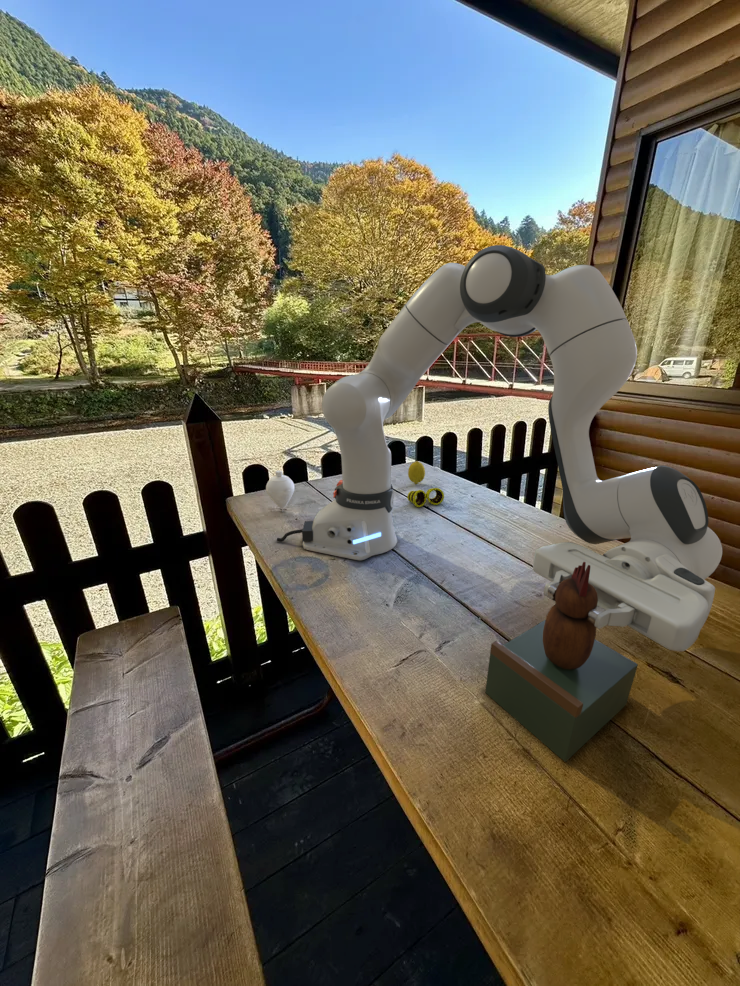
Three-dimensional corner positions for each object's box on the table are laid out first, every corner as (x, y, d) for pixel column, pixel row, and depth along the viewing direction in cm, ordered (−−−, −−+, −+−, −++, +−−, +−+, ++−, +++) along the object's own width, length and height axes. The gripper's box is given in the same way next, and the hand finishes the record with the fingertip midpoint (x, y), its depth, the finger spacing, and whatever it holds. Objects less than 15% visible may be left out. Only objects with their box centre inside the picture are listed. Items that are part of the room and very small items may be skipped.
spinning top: (276, 519, 110) (272, 477, 106) (264, 510, 116) (259, 470, 111) (301, 512, 115) (298, 471, 110) (288, 504, 120) (284, 465, 116)
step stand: (484, 692, 57) (491, 643, 54) (546, 651, 64) (554, 605, 61) (565, 762, 47) (578, 707, 44) (626, 705, 55) (641, 654, 51)
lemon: (423, 487, 132) (424, 464, 129) (406, 486, 133) (407, 463, 130) (425, 481, 137) (426, 459, 134) (408, 481, 138) (409, 458, 135)
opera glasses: (436, 501, 123) (436, 485, 123) (444, 504, 118) (444, 487, 118) (406, 505, 121) (406, 488, 120) (414, 508, 116) (413, 491, 115)
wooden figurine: (585, 685, 49) (610, 578, 44) (534, 666, 52) (552, 563, 46) (591, 650, 54) (614, 551, 49) (545, 634, 57) (562, 539, 52)
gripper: (572, 525, 63) (507, 546, 57) (732, 593, 46) (665, 634, 40) (565, 561, 65) (502, 585, 59) (715, 638, 49) (650, 683, 43)
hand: (569, 606), depth 50 cm, fingers closed on wooden figurine, 5 cm apart
